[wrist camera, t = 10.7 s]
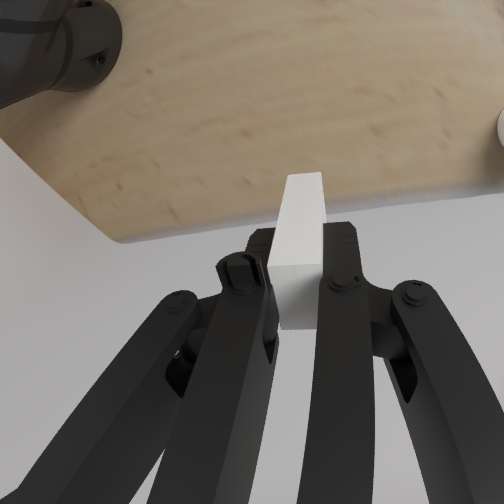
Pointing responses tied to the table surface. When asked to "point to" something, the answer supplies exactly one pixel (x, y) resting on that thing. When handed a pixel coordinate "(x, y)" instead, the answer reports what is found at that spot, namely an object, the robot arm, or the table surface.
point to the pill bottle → (501, 127)
